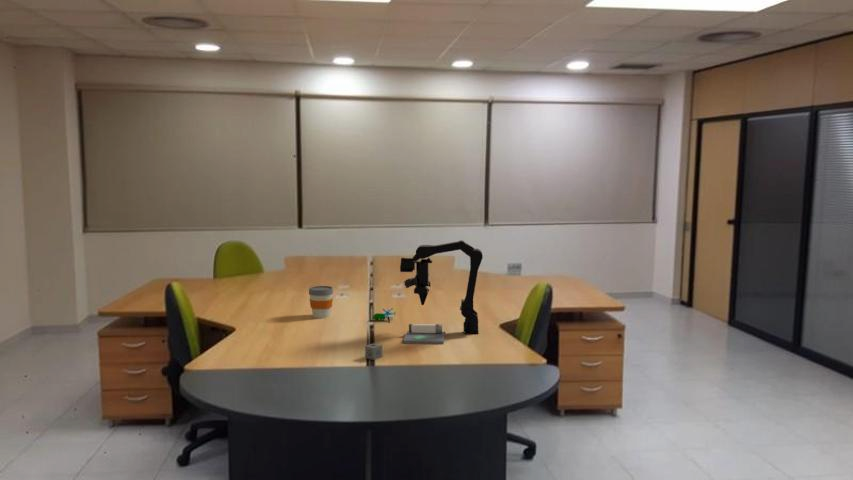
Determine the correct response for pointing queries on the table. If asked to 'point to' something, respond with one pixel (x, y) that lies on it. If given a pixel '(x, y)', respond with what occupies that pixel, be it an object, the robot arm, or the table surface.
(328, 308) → the reusable coffee cup
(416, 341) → the plate
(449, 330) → the table surface
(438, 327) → the light grey rounded bar
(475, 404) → the table surface
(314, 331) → the table surface
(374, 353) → the dice cube
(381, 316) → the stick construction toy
